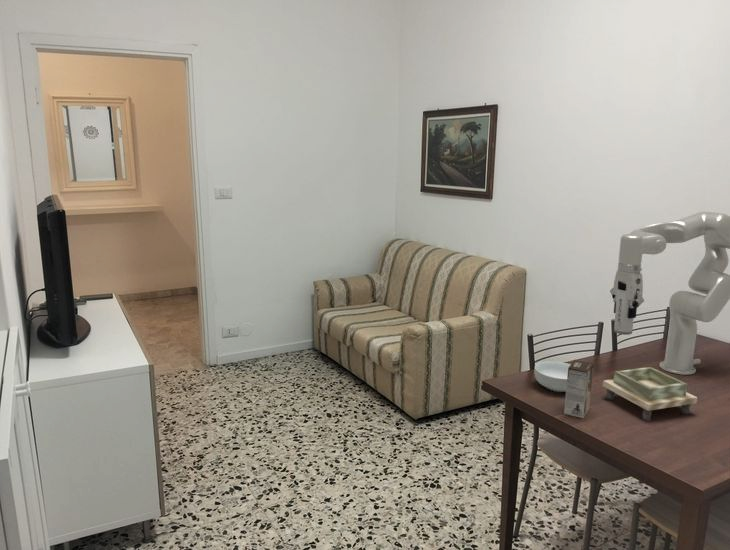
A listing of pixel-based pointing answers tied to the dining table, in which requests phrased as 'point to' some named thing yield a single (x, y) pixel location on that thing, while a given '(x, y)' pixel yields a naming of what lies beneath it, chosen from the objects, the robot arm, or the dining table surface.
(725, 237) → the robot arm
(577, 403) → the coffee box
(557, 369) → the cereal bowl
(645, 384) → the framed shelf
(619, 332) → the travel mug
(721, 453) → the dining table surface
